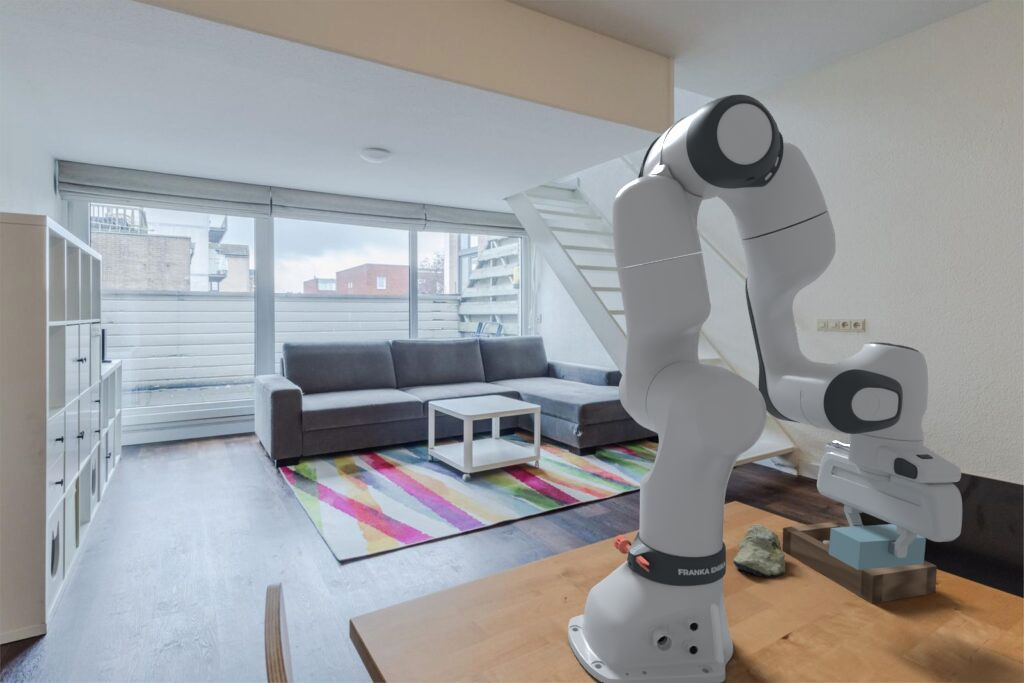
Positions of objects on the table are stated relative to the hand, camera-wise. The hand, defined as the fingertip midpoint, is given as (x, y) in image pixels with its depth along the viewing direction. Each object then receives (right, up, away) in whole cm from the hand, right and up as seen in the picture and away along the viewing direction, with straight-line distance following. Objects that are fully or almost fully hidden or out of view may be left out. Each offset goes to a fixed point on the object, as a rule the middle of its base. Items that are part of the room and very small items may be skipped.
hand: (876, 545), depth 79 cm
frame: (+6, -10, +16) cm, 20 cm away
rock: (-9, -11, +18) cm, 23 cm away
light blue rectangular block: (0, -2, 0) cm, 2 cm away
